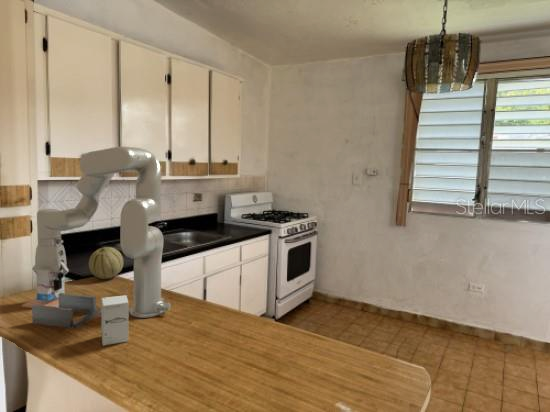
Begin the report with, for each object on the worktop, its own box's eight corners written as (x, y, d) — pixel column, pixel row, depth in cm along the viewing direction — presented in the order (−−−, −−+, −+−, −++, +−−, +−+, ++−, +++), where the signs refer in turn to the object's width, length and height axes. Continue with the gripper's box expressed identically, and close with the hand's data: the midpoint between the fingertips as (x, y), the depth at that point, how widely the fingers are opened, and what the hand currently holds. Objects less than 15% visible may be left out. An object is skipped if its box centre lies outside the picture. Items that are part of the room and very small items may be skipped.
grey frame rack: (100, 313, 132) (100, 297, 131) (75, 328, 119) (75, 310, 119) (61, 308, 134) (60, 293, 134) (32, 323, 122) (32, 306, 121)
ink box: (47, 301, 135) (46, 270, 134) (36, 300, 136) (35, 269, 135) (65, 294, 143) (64, 264, 142) (54, 292, 144) (53, 263, 143)
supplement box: (102, 346, 108) (101, 305, 107) (101, 336, 115) (100, 297, 114) (129, 342, 112) (128, 302, 110) (126, 332, 118) (126, 294, 117)
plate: (78, 298, 145) (78, 296, 145) (53, 310, 133) (53, 308, 133) (48, 295, 147) (48, 293, 147) (21, 307, 135) (21, 304, 135)
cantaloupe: (124, 272, 181) (123, 242, 180) (122, 281, 168) (122, 249, 166) (90, 274, 176) (90, 243, 175) (86, 284, 162) (86, 250, 161)
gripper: (77, 241, 140) (78, 287, 142) (37, 238, 143) (39, 284, 144) (62, 245, 133) (64, 294, 134) (21, 242, 135) (23, 290, 137)
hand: (51, 288), depth 139 cm, fingers closed on ink box, 5 cm apart
